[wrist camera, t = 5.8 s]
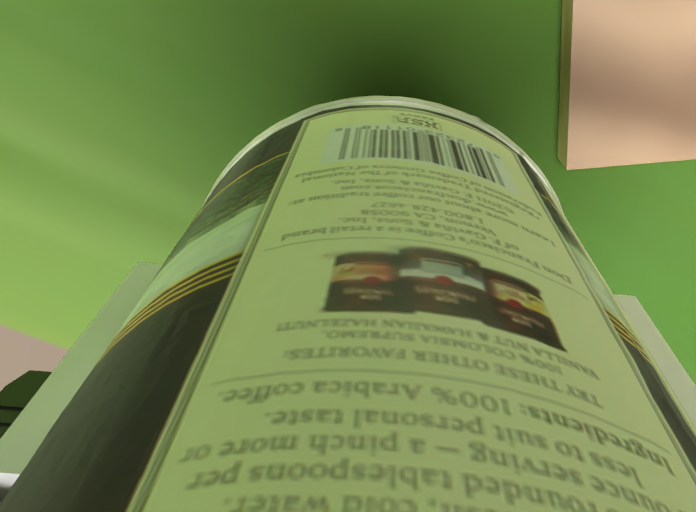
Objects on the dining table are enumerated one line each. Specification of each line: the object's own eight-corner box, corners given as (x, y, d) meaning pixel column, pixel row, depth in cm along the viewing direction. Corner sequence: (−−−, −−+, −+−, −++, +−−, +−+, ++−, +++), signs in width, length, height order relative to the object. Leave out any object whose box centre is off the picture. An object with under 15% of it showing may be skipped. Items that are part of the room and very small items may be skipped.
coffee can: (270, 454, 20) (75, 1281, 8) (131, 157, 16) (-776, 932, 4) (600, 392, 19) (1034, 1354, 6) (540, 36, 14) (1626, 792, 2)
